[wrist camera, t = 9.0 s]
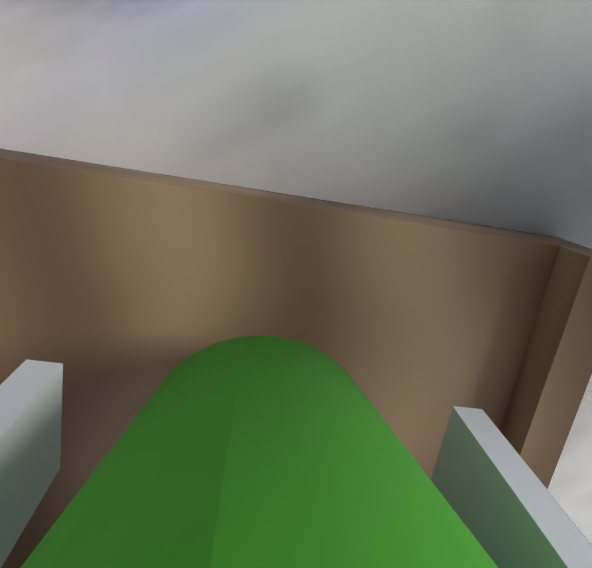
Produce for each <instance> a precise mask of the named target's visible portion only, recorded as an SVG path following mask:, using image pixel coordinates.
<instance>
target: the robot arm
mask: <svg viewBox="0 0 592 568" xmlns="http://www.w3.org/2000/svg"><path fill="white" fill-rule="evenodd" d="M62 382H63V363H54V362H45V361H36V360H27V359H26V360H25V361H24V362H23V363H22V364H21V365H20V366H19V367H18V368H17V369H16V370H15V371H14V372H13V373H12V374H11V375H10V376H9V377H8V378H7V379H6V380H5V381H4V382H3V383H2V384H1V385H0V568H1V567H2V566H3V564H4V562H5V561H6V559H7V557H8V556H9V554H10V552H11V550H12V549H13V547H14V545H15V544H16V542H17V540H18V539H19V537H20V535H21V533H22V532H23V530H24V528H25V527H26V525H27V523H28V522H29V520H30V518H31V517H32V515H33V513H34V511H35V510H36V508H37V506H38V505H39V503H40V501H41V500H42V498H43V496H44V494H45V493H46V491H47V489H48V488H49V486H50V484H51V483H52V481H53V479H54V478H55V476H56V474H57V472H58V471H59V469H60V459H61V420H62ZM431 481H432V482H433V484H434V485H435V486H436V488H437V489H438V490H439V491H440V493H441V494H442V495H443V497H444V498H445V499H446V500H447V502H448V503H449V504H450V506H451V507H452V508H453V510H454V511H455V512H456V513H457V515H458V516H459V517H460V519H461V520H462V521H463V523H464V524H465V525H466V526H467V528H468V529H469V530H470V532H471V533H472V534H473V536H474V537H475V538H476V539H477V541H478V542H479V543H480V545H481V546H482V547H483V548H484V550H485V551H486V552H487V554H488V555H489V556H490V558H491V559H492V560H493V561H494V563H495V564H496V565H497V567H498V568H592V544H591V543H590V542H589V540H588V539H587V538H586V537H585V535H584V534H583V533H582V532H581V530H580V529H579V528H578V527H577V526H576V524H575V523H574V522H573V521H572V519H571V518H570V517H569V516H568V514H567V513H566V512H565V511H564V509H563V508H562V507H561V506H560V505H559V503H558V502H557V501H556V500H555V498H554V497H553V496H552V495H551V493H550V492H549V491H548V490H547V489H546V487H545V486H544V485H543V484H542V482H541V481H540V480H539V479H538V477H537V476H536V475H535V474H534V472H533V471H532V470H531V469H530V468H529V466H528V465H527V464H526V463H525V461H524V460H523V459H522V458H521V456H520V455H519V454H518V453H517V452H516V450H515V449H514V448H513V447H512V445H511V444H510V443H509V442H508V440H507V439H506V438H505V437H504V435H503V434H502V433H501V432H500V431H499V429H498V428H497V427H496V426H495V424H494V423H493V422H492V421H491V419H490V418H489V417H488V416H487V414H486V413H485V412H484V411H483V410H482V409H476V408H467V407H458V406H453V407H452V410H451V413H450V417H449V420H448V423H447V427H446V430H445V434H444V437H443V440H442V444H441V447H440V450H439V454H438V457H437V460H436V464H435V467H434V471H433V474H432V477H431Z"/></svg>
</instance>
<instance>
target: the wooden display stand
mask: <svg viewBox="0 0 592 568" xmlns="http://www.w3.org/2000/svg"><path fill="white" fill-rule="evenodd" d="M243 336H278V337H282V338H286V339H291V340H295V341H299V342H303V343H305V344H307V345H309V346H311V347H313V348H315V349H317V350H319V351H321V352H323V353H325V354H327V355H328V356H330V357H331V358H332V359H333V360H334V361H335V362H337V363H338V364H339V365H340V366H341V367H342V368H344V369H345V370H346V371H347V372H348V373H349V375H350V376H351V377H352V379H353V380H354V381H355V382H356V384H357V385H358V386H359V388H360V389H361V390H362V392H363V393H364V394H365V395H366V397H367V398H368V399H369V401H370V402H371V403H372V405H373V406H374V407H375V408H376V410H377V411H378V412H379V414H380V415H381V416H382V417H383V419H384V420H385V421H386V423H387V424H388V425H389V427H390V428H391V429H392V430H393V432H394V433H395V434H396V436H397V437H398V438H399V440H400V441H401V442H402V443H403V445H404V446H405V447H406V449H407V450H408V451H409V452H410V454H411V455H412V456H413V458H414V459H415V460H416V462H417V463H418V464H419V465H420V467H421V468H422V469H423V471H424V472H425V473H426V475H427V476H428V477H429V478H430V480H431V477H432V474H433V471H434V467H435V464H436V460H437V457H438V454H439V450H440V447H441V444H442V440H443V437H444V434H445V430H446V427H447V423H448V420H449V417H450V413H451V410H452V407H453V406H458V407H467V408H476V409H482V410H483V411H484V412H485V413H486V414H487V416H488V417H489V418H490V419H491V421H492V422H493V423H494V424H495V426H496V427H497V428H498V429H499V431H500V432H501V433H502V434H503V435H504V437H505V438H506V439H507V440H508V442H509V443H510V444H511V445H512V447H513V448H514V449H515V450H516V452H517V453H518V454H519V455H520V456H521V458H522V459H523V460H524V461H525V463H526V464H527V465H528V466H529V468H530V469H531V470H532V471H533V472H534V474H535V475H536V476H537V477H538V479H539V480H540V481H541V482H542V484H543V485H544V486H545V487H546V489H548V486H549V484H550V481H551V478H552V476H553V473H554V471H555V468H556V465H557V463H558V460H559V458H560V455H561V452H562V450H563V447H564V444H565V442H566V439H567V437H568V434H569V431H570V429H571V426H572V424H573V421H574V418H575V416H576V413H577V411H578V408H579V405H580V403H581V400H582V398H583V395H584V392H585V390H586V387H587V384H588V382H589V379H590V377H591V374H592V249H589V248H586V247H583V246H580V245H578V244H575V243H572V242H569V241H566V240H563V239H560V238H557V237H551V236H545V235H539V234H532V233H526V232H520V231H514V230H507V229H501V228H495V227H488V226H482V225H476V224H470V223H463V222H457V221H451V220H444V219H438V218H432V217H426V216H419V215H413V214H407V213H401V212H394V211H388V210H382V209H375V208H369V207H363V206H357V205H350V204H344V203H338V202H331V201H325V200H319V199H313V198H306V197H300V196H294V195H287V194H281V193H275V192H269V191H262V190H256V189H250V188H243V187H237V186H231V185H225V184H218V183H212V182H206V181H199V180H193V179H187V178H181V177H174V176H168V175H162V174H155V173H149V172H143V171H137V170H130V169H124V168H118V167H112V166H105V165H99V164H93V163H86V162H80V161H74V160H68V159H61V158H55V157H49V156H42V155H36V154H30V153H24V152H17V151H11V150H5V149H0V385H1V384H2V383H3V382H4V381H5V380H6V379H7V378H8V377H9V376H10V375H11V374H12V373H13V372H14V371H15V370H16V369H17V368H18V367H19V366H20V365H21V364H22V363H23V362H24V361H25V360H26V359H27V360H36V361H45V362H54V363H63V382H62V420H61V459H60V469H59V471H58V472H57V474H56V476H55V478H54V479H53V481H52V483H51V484H50V486H49V488H48V489H47V491H46V493H45V494H44V496H43V498H42V500H41V501H40V503H39V505H38V506H37V508H36V510H35V511H34V513H33V515H32V517H31V518H30V520H29V522H28V523H27V525H26V527H25V528H24V530H23V532H22V533H21V535H20V537H19V539H18V540H17V542H16V544H15V545H14V547H13V549H12V550H11V552H10V554H9V556H8V557H7V559H6V561H5V562H4V564H3V566H2V567H1V568H20V567H21V566H22V565H23V564H24V562H25V561H26V560H27V558H28V557H29V556H30V554H31V553H32V552H33V550H34V549H35V548H36V547H37V545H38V544H39V543H40V541H41V540H42V539H43V537H44V536H45V535H46V534H47V532H48V531H49V530H50V528H51V527H52V526H53V524H54V523H55V522H56V520H57V519H58V518H59V517H60V515H61V514H62V513H63V511H64V510H65V509H66V507H67V506H68V505H69V503H70V502H71V501H72V500H73V498H74V497H75V496H76V494H77V493H78V492H79V490H80V489H81V488H82V486H83V485H84V484H85V483H86V481H87V480H88V479H89V477H90V476H91V475H92V473H93V472H94V471H95V470H96V468H97V467H98V466H99V464H100V463H101V462H102V460H103V459H104V458H105V456H106V455H107V454H108V453H109V451H110V450H111V449H112V447H113V446H114V445H115V443H116V442H117V441H118V439H119V438H120V437H121V436H122V434H123V433H124V432H125V430H126V429H127V428H128V426H129V425H130V424H131V422H132V421H133V420H134V419H135V417H136V416H137V415H138V413H139V412H140V411H141V409H142V408H143V407H144V406H145V404H146V403H147V402H148V400H149V399H150V398H151V396H152V395H153V394H154V392H155V391H156V390H157V389H158V387H159V386H160V385H161V383H162V382H163V381H164V379H165V378H166V377H167V375H168V374H169V373H170V372H171V371H172V370H173V369H174V368H176V367H177V366H178V365H179V364H180V363H182V362H183V361H184V360H185V359H187V358H188V357H189V356H190V355H192V354H194V353H196V352H198V351H200V350H202V349H204V348H206V347H208V346H210V345H213V344H215V343H217V342H220V341H225V340H229V339H234V338H238V337H243Z"/></svg>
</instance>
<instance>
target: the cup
mask: <svg viewBox="0 0 592 568" xmlns="http://www.w3.org/2000/svg"><path fill="white" fill-rule="evenodd" d="M20 568H498V567H497V565H496V564H495V563H494V561H493V560H492V559H491V558H490V556H489V555H488V554H487V552H486V551H485V550H484V548H483V547H482V546H481V545H480V543H479V542H478V541H477V539H476V538H475V537H474V536H473V534H472V533H471V532H470V530H469V529H468V528H467V526H466V525H465V524H464V523H463V521H462V520H461V519H460V517H459V516H458V515H457V513H456V512H455V511H454V510H453V508H452V507H451V506H450V504H449V503H448V502H447V500H446V499H445V498H444V497H443V495H442V494H441V493H440V491H439V490H438V489H437V488H436V486H435V485H434V484H433V482H432V481H431V480H430V478H429V477H428V476H427V475H426V473H425V472H424V471H423V469H422V468H421V467H420V465H419V464H418V463H417V462H416V460H415V459H414V458H413V456H412V455H411V454H410V452H409V451H408V450H407V449H406V447H405V446H404V445H403V443H402V442H401V441H400V440H399V438H398V437H397V436H396V434H395V433H394V432H393V430H392V429H391V428H390V427H389V425H388V424H387V423H386V421H385V420H384V419H383V417H382V416H381V415H380V414H379V412H378V411H377V410H376V408H375V407H374V406H373V405H372V403H371V402H370V401H369V399H368V398H367V397H366V395H365V394H364V393H363V392H362V390H361V389H360V388H359V386H358V385H357V384H356V382H355V381H354V380H353V379H352V377H351V376H350V375H349V373H348V372H347V371H346V370H345V369H344V368H342V367H341V366H340V365H339V364H338V363H337V362H335V361H334V360H333V359H332V358H331V357H330V356H328V355H327V354H325V353H323V352H321V351H319V350H317V349H315V348H313V347H311V346H309V345H307V344H305V343H303V342H299V341H295V340H291V339H286V338H282V337H278V336H243V337H238V338H234V339H229V340H225V341H220V342H217V343H215V344H213V345H210V346H208V347H206V348H204V349H202V350H200V351H198V352H196V353H194V354H192V355H190V356H189V357H188V358H187V359H185V360H184V361H183V362H182V363H180V364H179V365H178V366H177V367H176V368H174V369H173V370H172V371H171V372H170V373H169V374H168V375H167V377H166V378H165V379H164V381H163V382H162V383H161V385H160V386H159V387H158V389H157V390H156V391H155V392H154V394H153V395H152V396H151V398H150V399H149V400H148V402H147V403H146V404H145V406H144V407H143V408H142V409H141V411H140V412H139V413H138V415H137V416H136V417H135V419H134V420H133V421H132V422H131V424H130V425H129V426H128V428H127V429H126V430H125V432H124V433H123V434H122V436H121V437H120V438H119V439H118V441H117V442H116V443H115V445H114V446H113V447H112V449H111V450H110V451H109V453H108V454H107V455H106V456H105V458H104V459H103V460H102V462H101V463H100V464H99V466H98V467H97V468H96V470H95V471H94V472H93V473H92V475H91V476H90V477H89V479H88V480H87V481H86V483H85V484H84V485H83V486H82V488H81V489H80V490H79V492H78V493H77V494H76V496H75V497H74V498H73V500H72V501H71V502H70V503H69V505H68V506H67V507H66V509H65V510H64V511H63V513H62V514H61V515H60V517H59V518H58V519H57V520H56V522H55V523H54V524H53V526H52V527H51V528H50V530H49V531H48V532H47V534H46V535H45V536H44V537H43V539H42V540H41V541H40V543H39V544H38V545H37V547H36V548H35V549H34V550H33V552H32V553H31V554H30V556H29V557H28V558H27V560H26V561H25V562H24V564H23V565H22V566H21V567H20Z"/></svg>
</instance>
